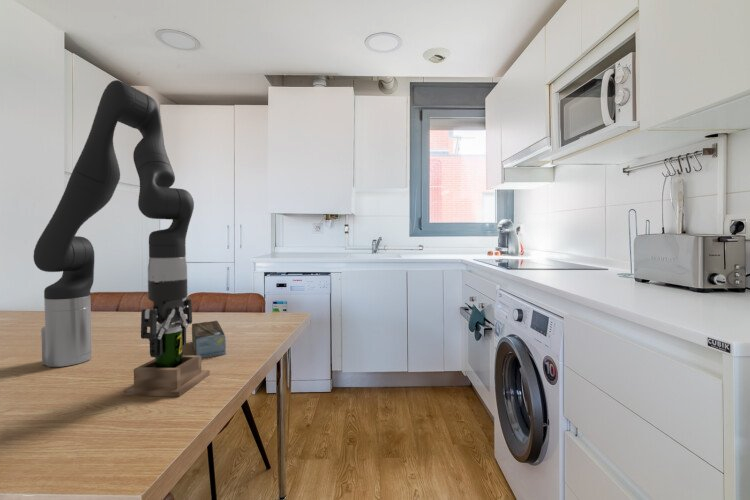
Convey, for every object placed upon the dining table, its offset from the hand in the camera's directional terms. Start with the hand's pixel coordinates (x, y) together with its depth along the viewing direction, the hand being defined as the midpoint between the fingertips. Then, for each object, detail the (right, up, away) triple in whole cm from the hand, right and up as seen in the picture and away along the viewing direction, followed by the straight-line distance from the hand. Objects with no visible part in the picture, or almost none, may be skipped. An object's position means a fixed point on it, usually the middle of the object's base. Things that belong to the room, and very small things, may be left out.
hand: (169, 350), depth 79 cm
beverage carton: (-4, -7, +27) cm, 29 cm away
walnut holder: (0, -8, 0) cm, 8 cm away
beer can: (0, -7, 0) cm, 7 cm away
